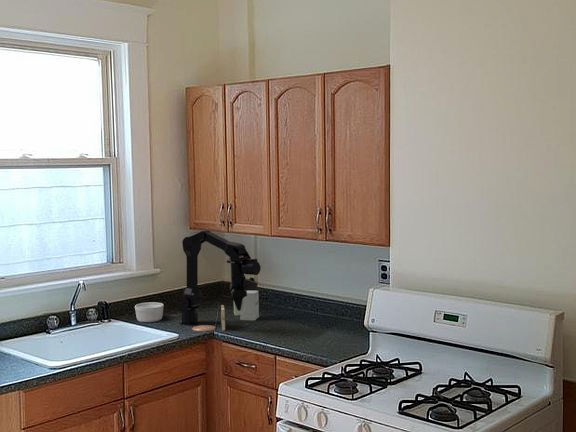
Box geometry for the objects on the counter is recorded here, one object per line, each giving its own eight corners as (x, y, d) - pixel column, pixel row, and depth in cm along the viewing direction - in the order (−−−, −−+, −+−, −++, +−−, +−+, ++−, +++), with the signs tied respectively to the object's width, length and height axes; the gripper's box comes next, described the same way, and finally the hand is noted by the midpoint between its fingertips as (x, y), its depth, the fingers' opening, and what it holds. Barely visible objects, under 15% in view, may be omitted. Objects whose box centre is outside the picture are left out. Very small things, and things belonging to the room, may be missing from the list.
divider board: (225, 330, 323) (224, 309, 323) (222, 330, 323) (221, 309, 323) (224, 325, 333) (223, 305, 333) (221, 325, 333) (221, 305, 332)
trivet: (187, 330, 325) (187, 329, 325) (199, 325, 334) (199, 324, 334) (208, 332, 321) (208, 331, 321) (219, 327, 330) (219, 326, 330)
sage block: (243, 314, 321) (243, 298, 320) (234, 315, 320) (234, 299, 320) (243, 312, 325) (242, 297, 324) (234, 313, 324) (233, 297, 324)
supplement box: (255, 320, 341) (255, 293, 340) (239, 320, 343) (239, 293, 341) (259, 317, 348) (258, 290, 347) (244, 316, 350) (243, 290, 349)
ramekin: (170, 319, 349) (169, 304, 349) (147, 324, 339) (147, 309, 338) (151, 315, 358) (151, 301, 357) (129, 320, 348) (128, 305, 347)
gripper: (258, 276, 313) (259, 312, 314) (254, 269, 331) (255, 304, 332) (231, 277, 311) (232, 314, 313) (229, 270, 330) (230, 305, 331)
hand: (238, 309), depth 322 cm, fingers closed on sage block, 4 cm apart
